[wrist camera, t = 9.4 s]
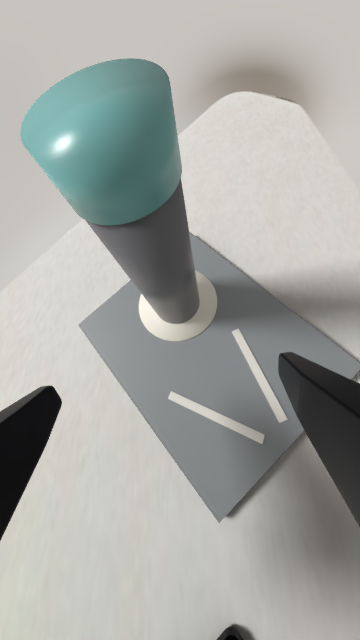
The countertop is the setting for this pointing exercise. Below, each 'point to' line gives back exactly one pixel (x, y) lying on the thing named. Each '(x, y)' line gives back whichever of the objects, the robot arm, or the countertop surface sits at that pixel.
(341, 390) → the robot arm
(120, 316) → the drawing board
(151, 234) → the marker
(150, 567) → the countertop surface
